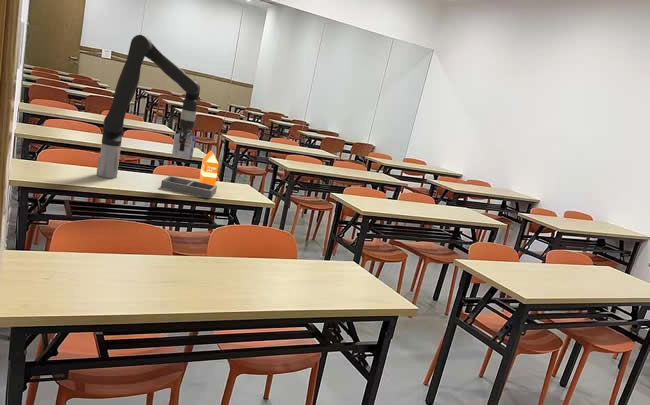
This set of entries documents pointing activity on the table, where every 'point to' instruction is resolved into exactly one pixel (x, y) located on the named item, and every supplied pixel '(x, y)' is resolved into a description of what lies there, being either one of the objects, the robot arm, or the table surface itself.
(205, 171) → the orange juice
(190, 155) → the ink cartridge box
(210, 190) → the grey divided tray
